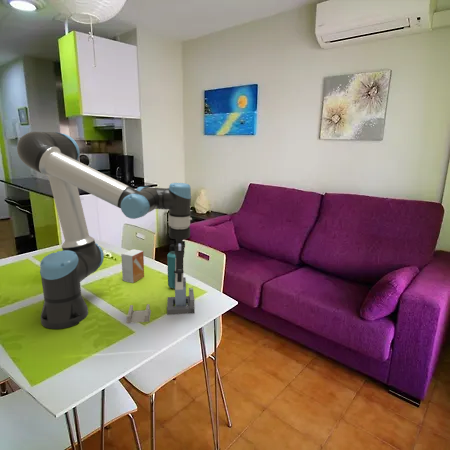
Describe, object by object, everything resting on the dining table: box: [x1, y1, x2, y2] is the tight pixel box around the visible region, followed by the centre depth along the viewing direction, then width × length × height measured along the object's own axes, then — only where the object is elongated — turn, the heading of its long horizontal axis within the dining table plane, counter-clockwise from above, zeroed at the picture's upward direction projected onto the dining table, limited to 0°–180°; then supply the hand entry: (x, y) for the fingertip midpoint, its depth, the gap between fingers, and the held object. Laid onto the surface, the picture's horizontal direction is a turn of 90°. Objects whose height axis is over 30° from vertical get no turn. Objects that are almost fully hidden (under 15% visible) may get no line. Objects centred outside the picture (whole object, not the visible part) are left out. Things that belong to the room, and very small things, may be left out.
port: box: [166, 287, 195, 316], centre depth 122 cm, size 10×10×7 cm
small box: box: [120, 248, 145, 284], centre depth 147 cm, size 8×6×13 cm
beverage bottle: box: [166, 243, 176, 289], centre depth 138 cm, size 6×7×20 cm
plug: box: [174, 276, 187, 307], centre depth 122 cm, size 4×4×12 cm
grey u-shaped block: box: [125, 303, 152, 324], centre depth 116 cm, size 8×8×3 cm
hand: (178, 281), depth 120 cm, fingers open, 13 cm apart
